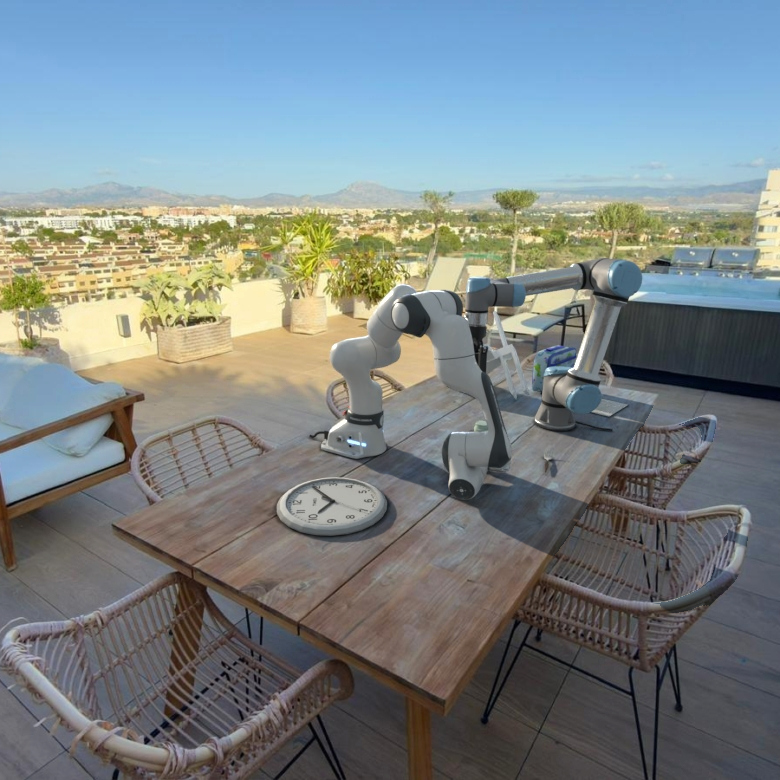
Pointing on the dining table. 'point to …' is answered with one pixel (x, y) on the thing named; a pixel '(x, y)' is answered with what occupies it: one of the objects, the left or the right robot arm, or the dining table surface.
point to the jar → (480, 426)
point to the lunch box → (551, 363)
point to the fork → (547, 459)
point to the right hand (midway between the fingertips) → (470, 391)
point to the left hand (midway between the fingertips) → (481, 448)
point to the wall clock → (331, 506)
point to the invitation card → (608, 407)
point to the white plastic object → (505, 359)
